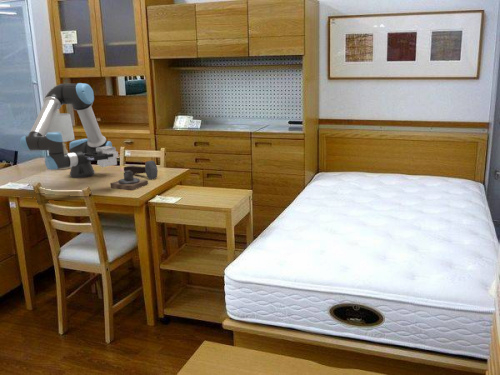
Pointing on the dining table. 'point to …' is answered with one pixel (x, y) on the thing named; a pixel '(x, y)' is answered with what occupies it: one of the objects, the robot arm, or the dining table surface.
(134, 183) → the post base
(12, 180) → the dining table surface
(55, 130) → the lamp
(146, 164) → the hammer
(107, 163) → the grey block
